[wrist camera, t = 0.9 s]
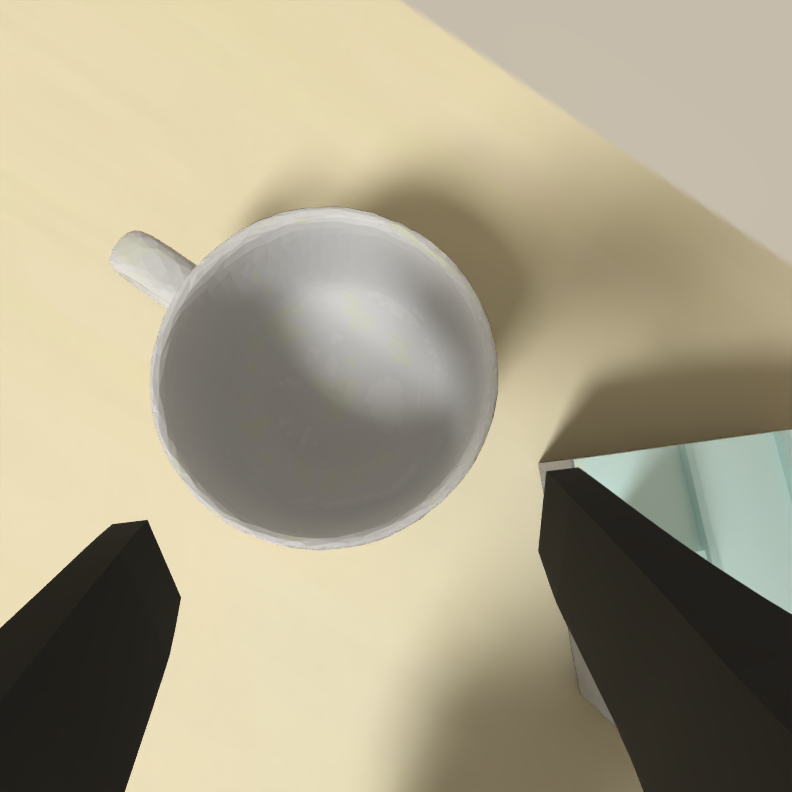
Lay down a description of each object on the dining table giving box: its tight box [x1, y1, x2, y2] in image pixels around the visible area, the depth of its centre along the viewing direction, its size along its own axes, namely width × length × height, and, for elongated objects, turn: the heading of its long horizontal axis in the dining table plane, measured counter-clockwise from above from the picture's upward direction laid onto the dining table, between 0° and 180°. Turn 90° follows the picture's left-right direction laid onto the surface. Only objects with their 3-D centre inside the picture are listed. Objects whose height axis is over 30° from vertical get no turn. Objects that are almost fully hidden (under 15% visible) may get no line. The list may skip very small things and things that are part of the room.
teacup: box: [109, 207, 498, 550], centre depth 19 cm, size 14×11×8 cm
